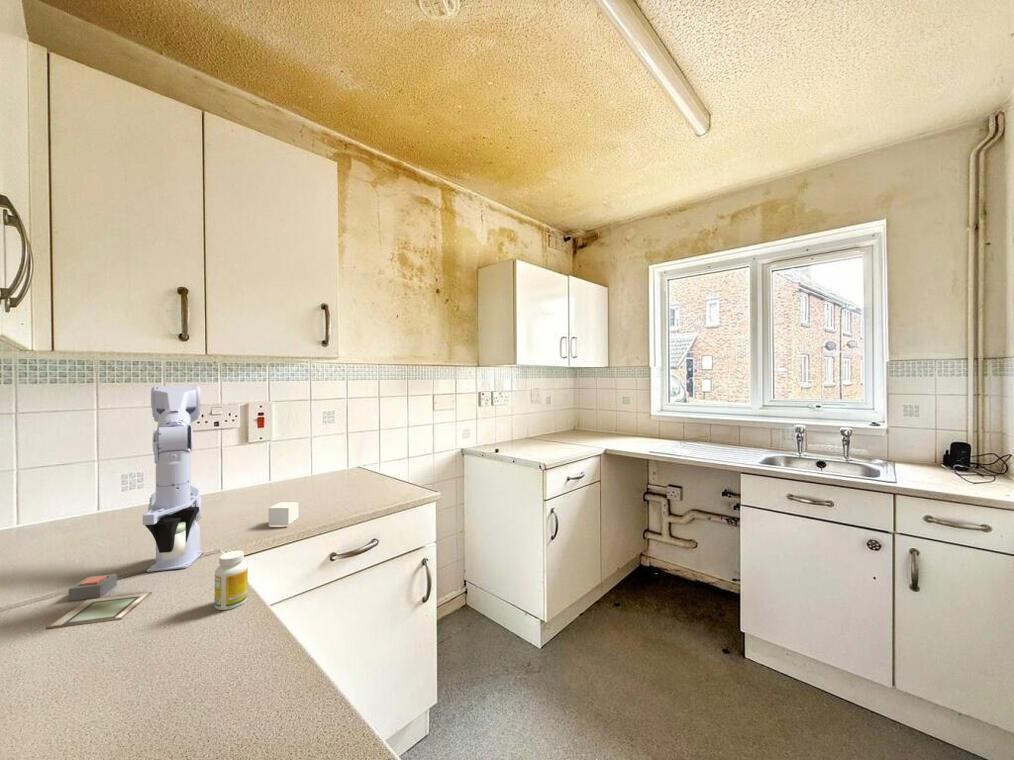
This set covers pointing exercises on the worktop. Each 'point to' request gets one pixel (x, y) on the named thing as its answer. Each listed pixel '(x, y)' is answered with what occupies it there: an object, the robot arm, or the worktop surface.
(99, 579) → the button
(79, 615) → the picture board
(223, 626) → the worktop surface
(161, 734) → the worktop surface
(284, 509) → the white cube
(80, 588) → the button housing
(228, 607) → the supplement bottle
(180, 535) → the green and cream cylinder
